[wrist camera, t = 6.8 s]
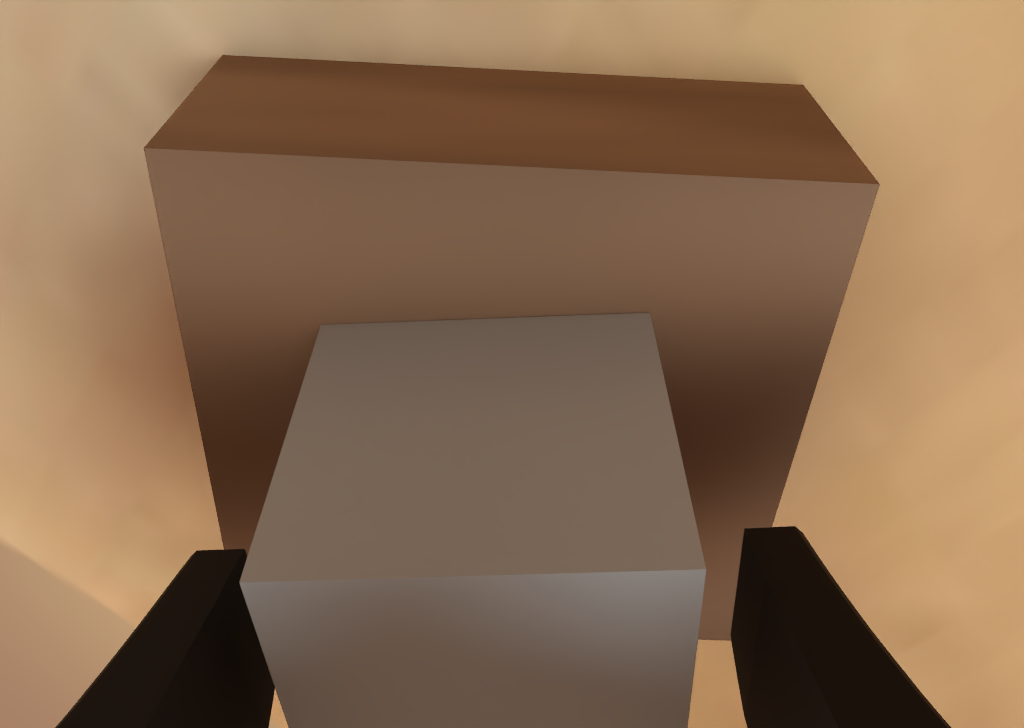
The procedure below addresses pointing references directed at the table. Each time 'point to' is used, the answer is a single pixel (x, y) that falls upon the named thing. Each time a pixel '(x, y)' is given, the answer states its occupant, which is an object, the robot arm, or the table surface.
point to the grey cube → (480, 531)
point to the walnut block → (512, 247)
